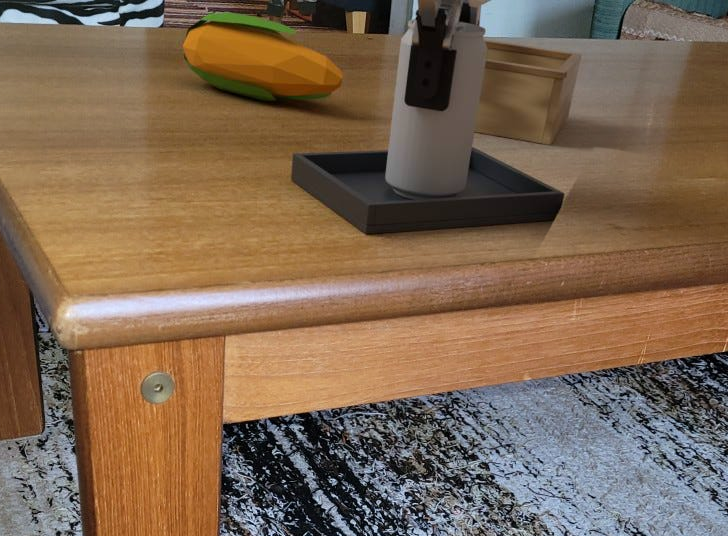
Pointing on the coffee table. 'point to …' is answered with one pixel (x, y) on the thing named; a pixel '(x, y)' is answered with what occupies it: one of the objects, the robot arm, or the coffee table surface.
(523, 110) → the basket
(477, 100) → the beverage can
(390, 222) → the tray
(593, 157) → the coffee table surface
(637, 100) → the coffee table surface
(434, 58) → the robot arm
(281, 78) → the corn
